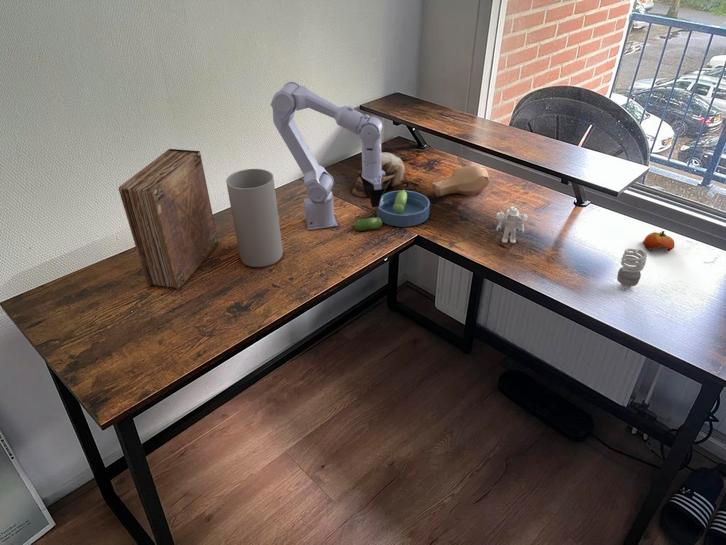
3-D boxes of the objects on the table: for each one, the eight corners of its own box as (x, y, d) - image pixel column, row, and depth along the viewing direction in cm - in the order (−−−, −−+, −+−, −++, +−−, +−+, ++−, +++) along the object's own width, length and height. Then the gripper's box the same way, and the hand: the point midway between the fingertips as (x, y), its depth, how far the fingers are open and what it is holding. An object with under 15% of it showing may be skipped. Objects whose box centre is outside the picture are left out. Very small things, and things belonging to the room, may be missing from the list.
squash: (494, 194, 193) (496, 173, 186) (440, 209, 190) (440, 188, 184) (481, 177, 200) (482, 156, 194) (428, 191, 198) (428, 170, 191)
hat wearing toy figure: (523, 238, 168) (529, 203, 161) (524, 245, 165) (530, 209, 158) (493, 236, 170) (497, 201, 163) (493, 243, 166) (497, 207, 160)
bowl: (384, 231, 174) (384, 218, 171) (371, 206, 187) (370, 194, 185) (436, 223, 177) (437, 211, 174) (419, 199, 190) (420, 187, 188)
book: (177, 291, 150) (151, 191, 133) (147, 287, 152) (117, 188, 135) (218, 242, 170) (200, 150, 153) (191, 239, 172) (169, 147, 155)
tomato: (683, 246, 159) (674, 232, 156) (667, 264, 160) (657, 251, 156) (661, 237, 166) (651, 223, 162) (645, 254, 167) (635, 241, 163)
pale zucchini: (403, 216, 181) (402, 208, 178) (392, 214, 182) (391, 207, 179) (409, 194, 187) (408, 186, 184) (398, 193, 188) (398, 185, 185)
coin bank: (348, 194, 194) (350, 157, 187) (367, 179, 208) (369, 144, 202) (391, 203, 189) (394, 165, 183) (406, 187, 203) (410, 151, 197)
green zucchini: (352, 234, 173) (352, 224, 170) (350, 228, 175) (349, 218, 173) (383, 229, 174) (383, 219, 172) (380, 224, 177) (380, 214, 175)
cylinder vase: (236, 250, 167) (222, 173, 152) (277, 241, 170) (267, 165, 156) (244, 272, 157) (230, 192, 143) (287, 262, 160) (278, 183, 146)
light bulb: (631, 281, 149) (642, 243, 142) (640, 294, 144) (653, 255, 137) (610, 282, 149) (620, 244, 142) (618, 295, 144) (630, 256, 137)
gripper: (391, 167, 158) (391, 210, 166) (378, 148, 170) (378, 189, 177) (367, 170, 157) (368, 213, 165) (355, 151, 168) (357, 191, 176)
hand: (372, 200), depth 171 cm, fingers open, 7 cm apart
